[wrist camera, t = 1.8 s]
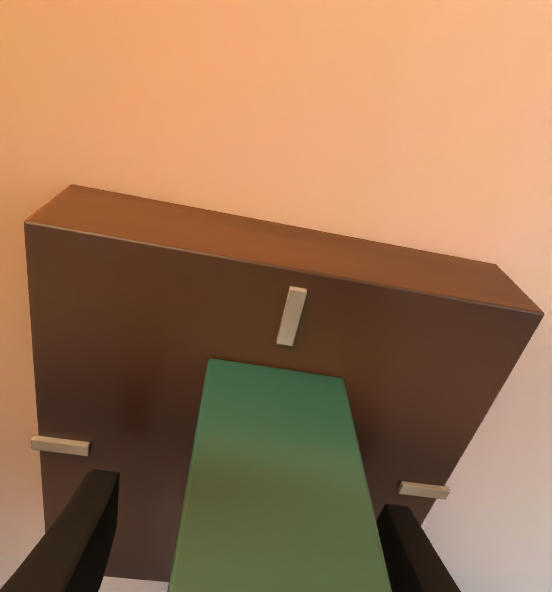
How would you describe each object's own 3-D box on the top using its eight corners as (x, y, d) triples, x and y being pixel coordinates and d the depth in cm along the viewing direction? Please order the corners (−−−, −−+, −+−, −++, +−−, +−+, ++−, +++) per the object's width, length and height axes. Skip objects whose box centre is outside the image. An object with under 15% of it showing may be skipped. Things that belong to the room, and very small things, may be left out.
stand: (366, 533, 18) (380, 607, 16) (72, 501, 17) (41, 576, 14) (500, 264, 12) (554, 318, 10) (65, 182, 11) (12, 222, 9)
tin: (282, 550, 14) (292, 871, 9) (178, 539, 14) (121, 867, 8) (344, 376, 11) (424, 726, 5) (208, 356, 10) (146, 710, 5)
